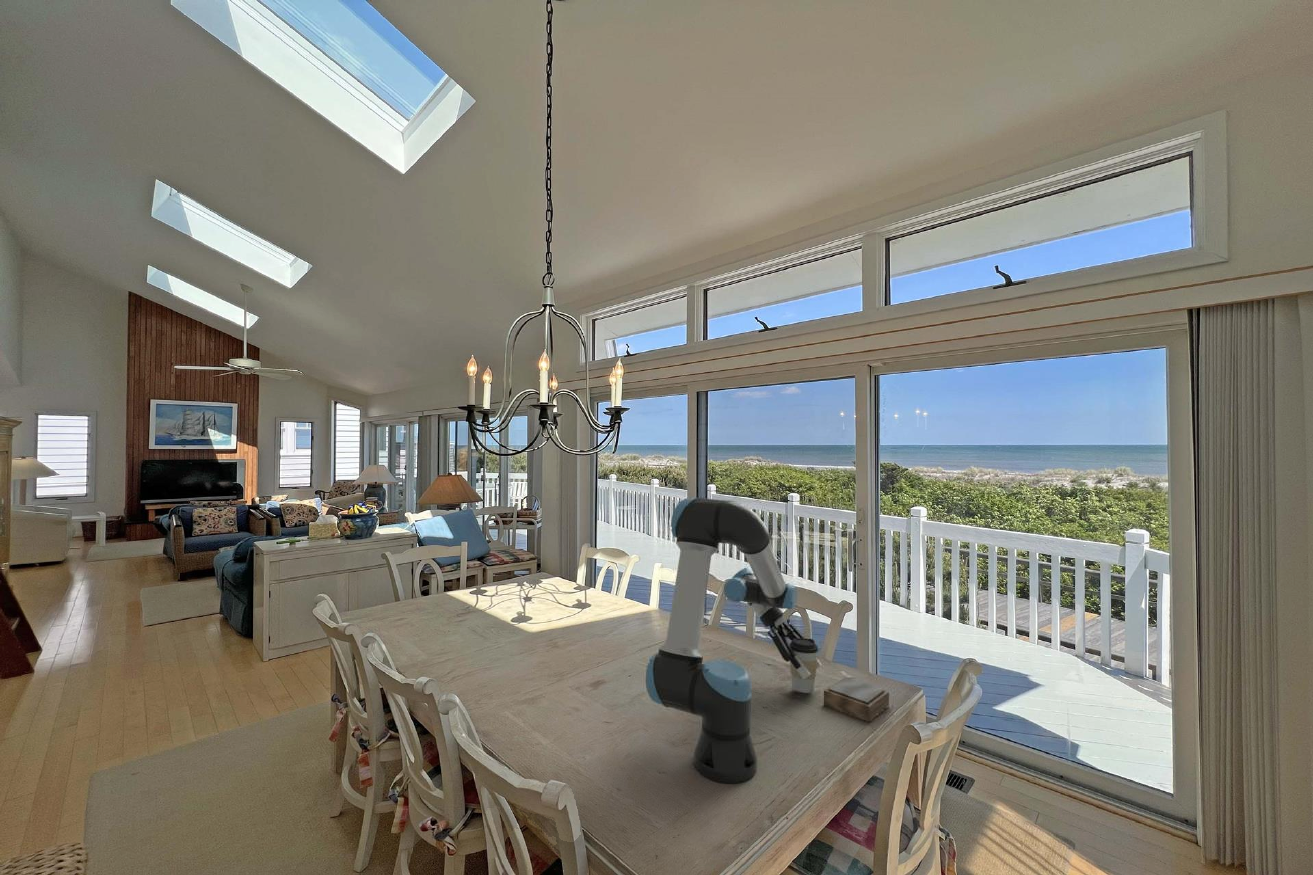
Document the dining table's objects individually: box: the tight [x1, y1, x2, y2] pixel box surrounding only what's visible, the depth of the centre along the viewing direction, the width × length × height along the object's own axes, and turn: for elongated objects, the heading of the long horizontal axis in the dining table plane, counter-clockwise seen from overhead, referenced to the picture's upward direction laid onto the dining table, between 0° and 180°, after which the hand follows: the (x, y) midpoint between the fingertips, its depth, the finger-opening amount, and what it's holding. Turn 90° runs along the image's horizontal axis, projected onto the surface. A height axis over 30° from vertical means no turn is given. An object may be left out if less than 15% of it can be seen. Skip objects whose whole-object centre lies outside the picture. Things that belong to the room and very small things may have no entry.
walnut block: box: [823, 676, 890, 722], centre depth 162 cm, size 14×14×5 cm
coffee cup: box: [789, 637, 819, 694], centre depth 170 cm, size 9×9×15 cm
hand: (812, 671), depth 168 cm, fingers closed on coffee cup, 9 cm apart
